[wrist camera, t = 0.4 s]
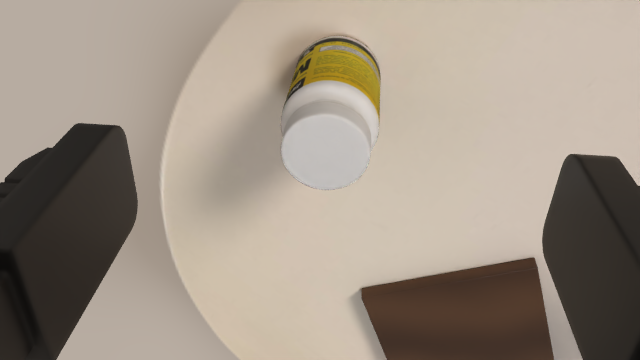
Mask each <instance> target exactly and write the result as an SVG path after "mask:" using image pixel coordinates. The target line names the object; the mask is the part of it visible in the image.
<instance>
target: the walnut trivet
mask: <svg viewBox="0 0 640 360" xmlns="http://www.w3.org/2000/svg"><path fill="white" fill-rule="evenodd" d="M362 300H363V303H364V305H365V307H366V310H367V312H368V315H369V317H370V320H371V322H372V324H373V327H374V329H375V332H376V334H377V336H378V339H379V341H380V344H381V346H382V349H383V351H384V353H385V356H386V358H387V360H554V357H553V352H552V346H551V341H550V335H549V329H548V324H547V318H546V312H545V307H544V301H543V295H542V290H541V284H540V279H539V273H538V267H537V264H536V261H535V258H529V259H524V260H518V261H512V262H507V263H501V264H496V265H490V266H484V267H479V268H473V269H468V270H462V271H456V272H451V273H445V274H440V275H434V276H428V277H423V278H417V279H412V280H406V281H400V282H395V283H389V284H384V285H378V286H372V287H367V288H362Z"/></svg>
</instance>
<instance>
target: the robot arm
mask: <svg viewBox="0 0 640 360" xmlns="http://www.w3.org/2000/svg"><path fill="white" fill-rule="evenodd" d="M137 203H138V201H137V192H136V187H135V182H134V176H133V171H132V165H131V160H130V155H129V150H128V144H127V139H126V135H125V133H124V131H123V129H122V128H121V127H120V126H116V125H99V124H84V123H78V124H76V125H74V126H73V127H72V128H71V129H70V130H69V131H68V132H67V133H66V134H65V135H64V136H63V137H62V139H61V140H60V141H59V142H58V143H57V144H56V145H55V146H54V147H53V148H46V149H45V150H43V151H41V152H39V153H37V154H35V155H33V156H31V157H30V158H28V159H26V160H24V161H22V162H21V163H20V164H19V165H18V166H17V167H16V168H15V169H14V170H13V171H12V172H11V173H10V174H9V175H8V176H7V177H6V178H5V182H1V183H0V360H56V359H57V357H58V356H59V354H60V352H61V350H62V349H63V347H64V345H65V343H66V342H67V340H68V338H69V337H70V335H71V333H72V331H73V330H74V328H75V326H76V325H77V323H78V321H79V319H80V318H81V316H82V314H83V312H84V311H85V309H86V307H87V305H88V304H89V302H90V300H91V299H92V297H93V295H94V293H95V292H96V290H97V288H98V287H99V285H100V283H101V281H102V280H103V278H104V276H105V275H106V273H107V271H108V269H109V268H110V266H111V264H112V263H113V261H114V259H115V257H116V256H117V254H118V252H119V250H120V249H121V247H122V245H123V244H124V242H125V240H126V238H127V237H128V235H129V233H130V232H131V230H132V228H133V225H134V223H135V220H136V214H137V206H138V205H137ZM542 244H543V253H544V258H545V261H546V263H547V266H548V269H549V271H550V274H551V276H552V279H553V282H554V284H555V287H556V290H557V292H558V295H559V298H560V300H561V303H562V306H563V308H564V311H565V313H566V316H567V319H568V321H569V324H570V327H571V329H572V332H573V335H574V337H575V340H576V342H577V345H578V348H579V350H580V353H581V356H582V358H583V360H640V186H638V185H637V184H636V183H635V181H634V180H633V178H632V177H631V175H630V174H629V173H628V171H627V170H626V168H625V167H624V165H623V164H622V163H621V161H620V160H619V159H618V158H617V157H614V156H597V155H580V154H570V155H568V156H567V157H566V159H565V161H564V163H563V165H562V168H561V171H560V174H559V178H558V181H557V184H556V188H555V191H554V194H553V197H552V201H551V204H550V207H549V211H548V214H547V217H546V220H545V224H544V229H543V238H542Z"/></svg>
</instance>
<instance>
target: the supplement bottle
mask: <svg viewBox="0 0 640 360" xmlns="http://www.w3.org/2000/svg"><path fill="white" fill-rule="evenodd" d="M379 110H380V69H379V65H378V62H377V60H376V58H375V56H374V55H373V53H372V52H371V51H370V50H369V49H368V48H367V47H366V46H365V45H364V44H362V43H361V42H359V41H357V40H355V39H352V38H349V37H344V36H330V37H325V38H322V39H320V40H318V41H316V42H314V43H313V44H311V45H310V46H309V47H308V48H307V49H306V50H305V51H304V52H303V54H302V55H301V57H300V59H299V61H298V63H297V66H296V70H295V73H294V76H293V79H292V83H291V86H290V89H289V92H288V95H287V98H286V101H285V104H284V107H283V111H282V116H281V131H282V136H283V138H282V142H281V156H282V160H283V163H284V165H285V167H286V169H287V170H288V172H289V173H290V174H291V175H292V176H293V177H294V178H295V179H296V180H298V181H299V182H301V183H302V184H304V185H306V186H309V187H312V188H316V189H321V190H334V189H339V188H343V187H346V186H348V185H350V184H352V183H354V182H355V181H356V180H358V179H359V178H360V177H361V176H362V174H363V173H364V172H365V170H366V168H367V166H368V164H369V160H370V154H371V151H372V149H373V147H374V146H375V143H376V141H377V138H378V133H379Z"/></svg>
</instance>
